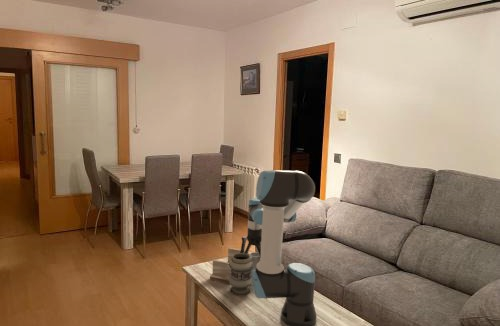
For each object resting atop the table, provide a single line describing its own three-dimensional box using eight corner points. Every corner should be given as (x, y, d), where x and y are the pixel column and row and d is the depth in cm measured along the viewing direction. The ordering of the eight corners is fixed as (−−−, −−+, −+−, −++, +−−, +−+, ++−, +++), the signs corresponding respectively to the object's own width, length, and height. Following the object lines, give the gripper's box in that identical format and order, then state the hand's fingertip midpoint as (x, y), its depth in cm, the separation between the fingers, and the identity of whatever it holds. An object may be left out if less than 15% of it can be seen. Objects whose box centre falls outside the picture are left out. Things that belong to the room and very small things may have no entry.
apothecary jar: (223, 289, 176) (224, 254, 173) (242, 282, 183) (243, 249, 181) (237, 299, 166) (239, 263, 164) (257, 292, 174) (259, 257, 172)
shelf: (230, 284, 181) (231, 266, 180) (209, 279, 185) (210, 262, 184) (249, 265, 205) (250, 249, 204) (230, 261, 209) (231, 245, 208)
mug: (264, 271, 192) (265, 250, 191) (251, 278, 183) (252, 256, 182) (253, 267, 197) (254, 246, 195) (239, 274, 188) (240, 252, 186)
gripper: (275, 228, 187) (273, 270, 189) (239, 223, 194) (238, 263, 197) (271, 232, 180) (269, 275, 182) (234, 227, 187) (232, 268, 190)
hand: (253, 269), depth 189 cm, fingers closed on mug, 7 cm apart
